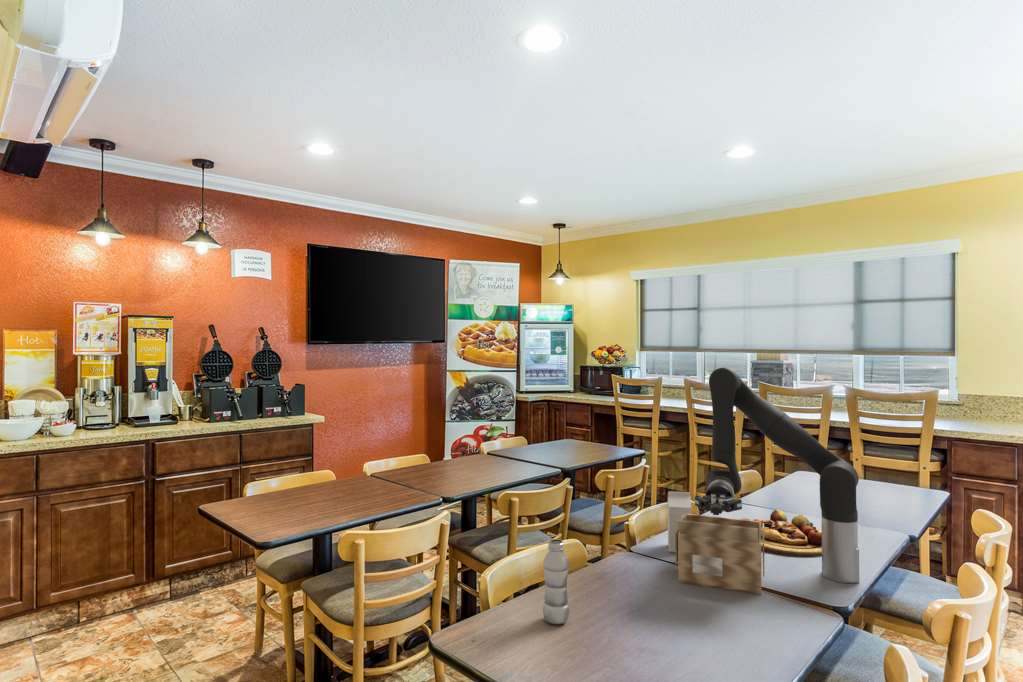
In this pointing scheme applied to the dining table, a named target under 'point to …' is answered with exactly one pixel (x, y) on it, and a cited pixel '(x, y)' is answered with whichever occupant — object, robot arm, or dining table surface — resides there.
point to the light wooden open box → (720, 557)
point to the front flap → (718, 531)
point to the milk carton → (676, 513)
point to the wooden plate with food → (790, 536)
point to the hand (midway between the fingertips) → (715, 511)
